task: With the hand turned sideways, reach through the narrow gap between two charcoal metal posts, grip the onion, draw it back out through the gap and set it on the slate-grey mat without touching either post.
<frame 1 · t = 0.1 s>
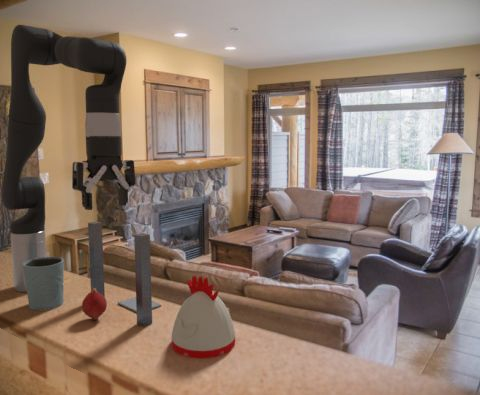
hand: (106, 207, 99), 29 cm above the counter, tool pointing down, fingers open, 8 cm apart
onion: (95, 320, 110), on the counter
kitchen timer: (203, 343, 98), on the counter
right post: (144, 323, 108), on the counter
left post: (98, 300, 122), on the counter
teal cup: (45, 305, 120), on the counter
mat: (139, 305, 119), on the counter
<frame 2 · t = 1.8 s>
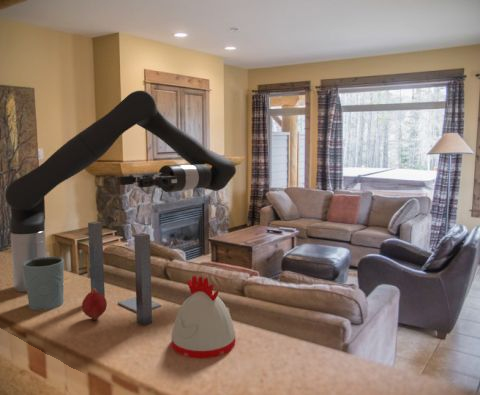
hand: (129, 182, 113), 33 cm above the counter, tool horizontal, fingers open, 8 cm apart
nothing on the counter moved.
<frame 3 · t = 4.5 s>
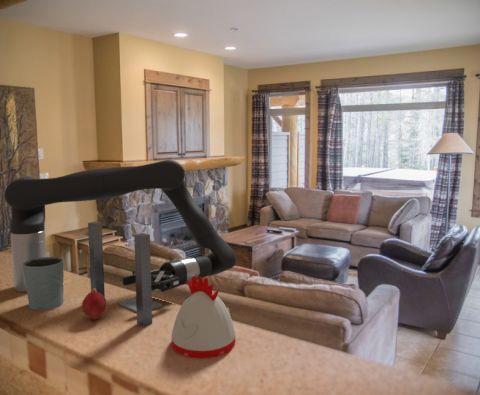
hand: (132, 285, 117), 6 cm above the counter, tool horizontal, fingers open, 8 cm apart
nothing on the counter moved.
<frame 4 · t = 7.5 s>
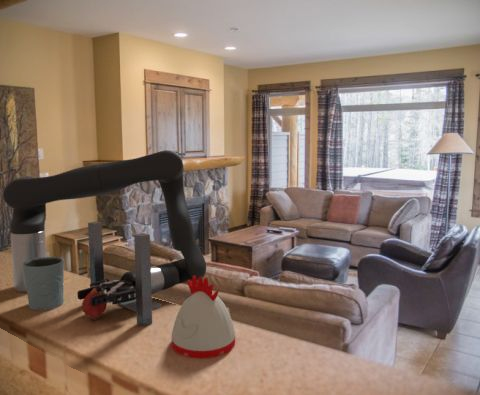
hand: (84, 298, 107), 6 cm above the counter, tool horizontal, fingers closed on onion, 5 cm apart
onion: (95, 320, 110), on the counter, touching gripper
everything else where it was.
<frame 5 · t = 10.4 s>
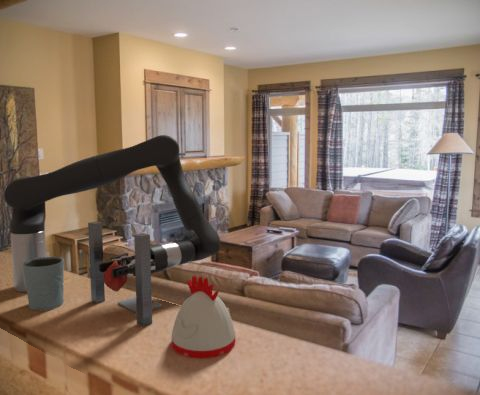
hand: (106, 270, 111), 12 cm above the counter, tool horizontal, fingers closed on onion, 5 cm apart
onion: (116, 292, 114), point 5 cm above the counter, touching gripper
everything else where it was.
when the fingers open (7 cm above the counter, at t = 13.2 s): onion stays where it is, resting on mat.
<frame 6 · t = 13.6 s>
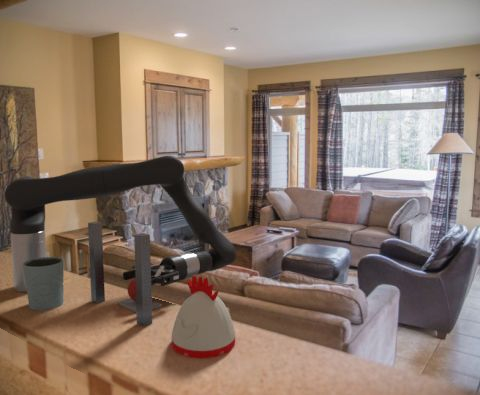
hand: (132, 279, 117), 8 cm above the counter, tool horizontal, fingers open, 8 cm apart
onion: (139, 303, 119), resting on mat
everything else where it was.
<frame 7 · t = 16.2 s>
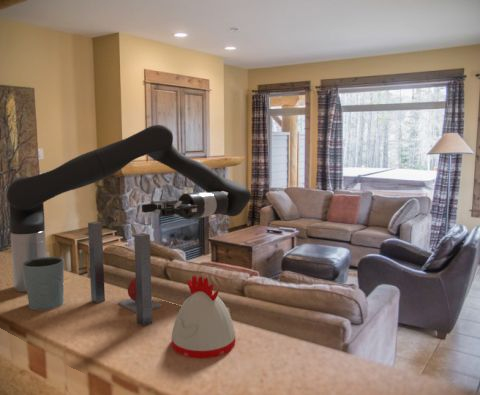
hand: (151, 210, 119), 25 cm above the counter, tool horizontal, fingers open, 8 cm apart
nothing on the counter moved.
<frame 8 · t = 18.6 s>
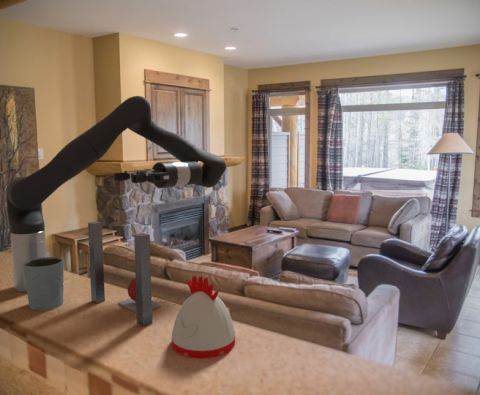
hand: (123, 178, 119), 34 cm above the counter, tool horizontal, fingers open, 8 cm apart
nothing on the counter moved.
at the end: onion inside the target area on the mat (0.1 cm from its centre), point 0.3 cm above the mat's base; left post moved 0.0 cm from its start; right post moved 0.0 cm from its start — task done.
